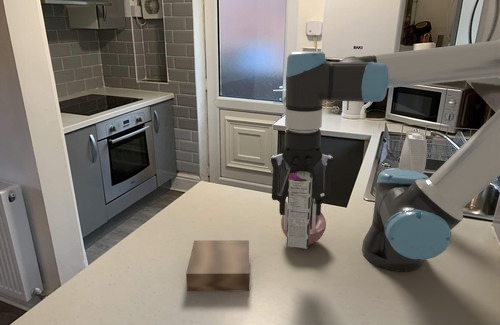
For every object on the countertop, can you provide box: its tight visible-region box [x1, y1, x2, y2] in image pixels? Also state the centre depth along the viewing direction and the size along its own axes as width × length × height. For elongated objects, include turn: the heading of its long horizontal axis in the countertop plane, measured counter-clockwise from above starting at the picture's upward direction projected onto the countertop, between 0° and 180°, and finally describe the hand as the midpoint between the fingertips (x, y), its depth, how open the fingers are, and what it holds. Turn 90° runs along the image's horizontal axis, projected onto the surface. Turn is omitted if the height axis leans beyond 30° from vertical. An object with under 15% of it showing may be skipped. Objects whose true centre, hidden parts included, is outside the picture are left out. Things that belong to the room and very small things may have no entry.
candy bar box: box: [286, 171, 313, 250], centre depth 85 cm, size 11×5×16 cm, turn 169°
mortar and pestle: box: [280, 212, 327, 246], centre depth 104 cm, size 12×12×12 cm
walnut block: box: [185, 239, 251, 292], centre depth 92 cm, size 14×14×5 cm
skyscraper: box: [398, 130, 428, 174], centre depth 119 cm, size 8×8×28 cm
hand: (299, 226), depth 87 cm, fingers closed on candy bar box, 5 cm apart
